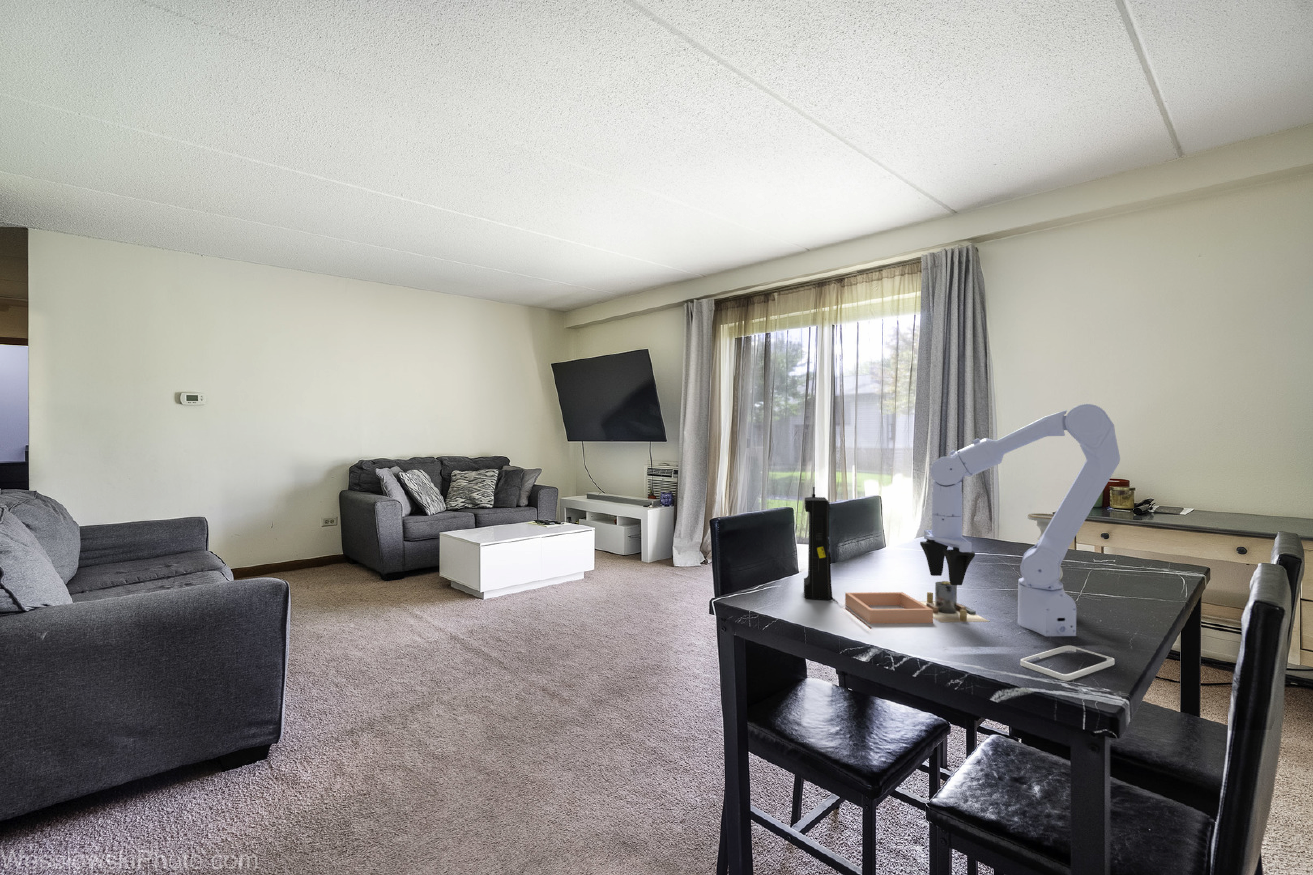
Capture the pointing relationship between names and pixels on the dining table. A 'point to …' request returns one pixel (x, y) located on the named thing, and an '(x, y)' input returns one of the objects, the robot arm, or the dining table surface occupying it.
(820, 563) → the portable radio
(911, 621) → the low rectangular frame
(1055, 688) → the dining table surface
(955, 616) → the checker cradle
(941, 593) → the battery cell
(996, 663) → the dining table surface
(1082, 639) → the dining table surface
